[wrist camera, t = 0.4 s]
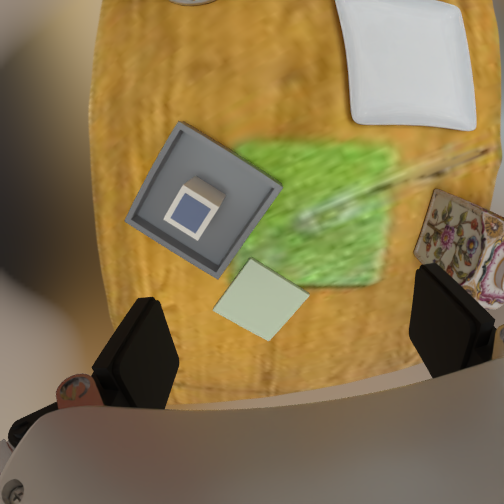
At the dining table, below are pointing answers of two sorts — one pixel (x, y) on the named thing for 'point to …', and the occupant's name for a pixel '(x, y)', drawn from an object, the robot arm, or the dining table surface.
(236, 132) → the dining table surface
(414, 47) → the salad plate
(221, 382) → the dining table surface
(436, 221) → the decorative jar
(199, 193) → the labelled box
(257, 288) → the mat
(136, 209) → the bin
